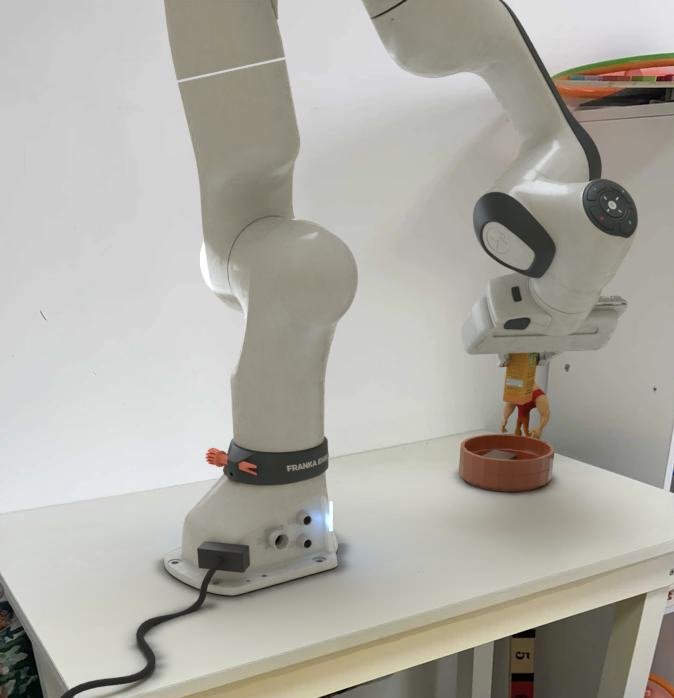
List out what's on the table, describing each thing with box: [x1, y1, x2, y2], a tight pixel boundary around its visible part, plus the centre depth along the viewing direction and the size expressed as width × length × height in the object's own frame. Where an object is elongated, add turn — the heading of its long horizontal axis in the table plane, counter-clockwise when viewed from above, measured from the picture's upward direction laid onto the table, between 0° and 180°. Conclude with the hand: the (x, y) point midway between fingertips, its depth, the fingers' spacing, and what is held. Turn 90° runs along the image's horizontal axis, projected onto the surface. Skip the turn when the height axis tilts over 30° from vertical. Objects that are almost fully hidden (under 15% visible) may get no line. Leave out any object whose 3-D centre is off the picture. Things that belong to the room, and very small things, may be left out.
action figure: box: [499, 380, 551, 439], centre depth 145 cm, size 10×4×15 cm, turn 37°
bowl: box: [458, 433, 555, 492], centre depth 136 cm, size 14×14×5 cm
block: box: [483, 450, 518, 460], centre depth 133 cm, size 4×4×4 cm
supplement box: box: [502, 352, 538, 405], centre depth 122 cm, size 3×3×10 cm
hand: (519, 362), depth 122 cm, fingers closed on supplement box, 4 cm apart
